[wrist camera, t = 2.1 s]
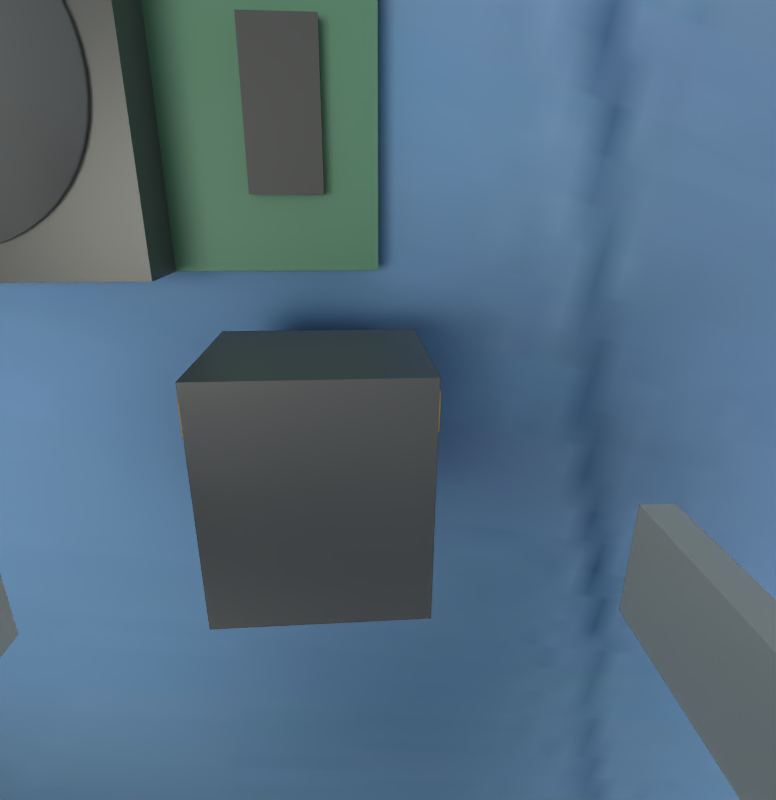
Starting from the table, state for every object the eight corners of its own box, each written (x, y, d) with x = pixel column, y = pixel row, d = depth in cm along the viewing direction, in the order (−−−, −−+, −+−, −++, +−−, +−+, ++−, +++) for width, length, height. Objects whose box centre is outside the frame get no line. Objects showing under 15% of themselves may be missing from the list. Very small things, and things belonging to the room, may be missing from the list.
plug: (401, 467, 24) (432, 618, 15) (258, 472, 23) (207, 629, 15) (403, 305, 21) (442, 377, 13) (243, 307, 21) (173, 383, 12)
